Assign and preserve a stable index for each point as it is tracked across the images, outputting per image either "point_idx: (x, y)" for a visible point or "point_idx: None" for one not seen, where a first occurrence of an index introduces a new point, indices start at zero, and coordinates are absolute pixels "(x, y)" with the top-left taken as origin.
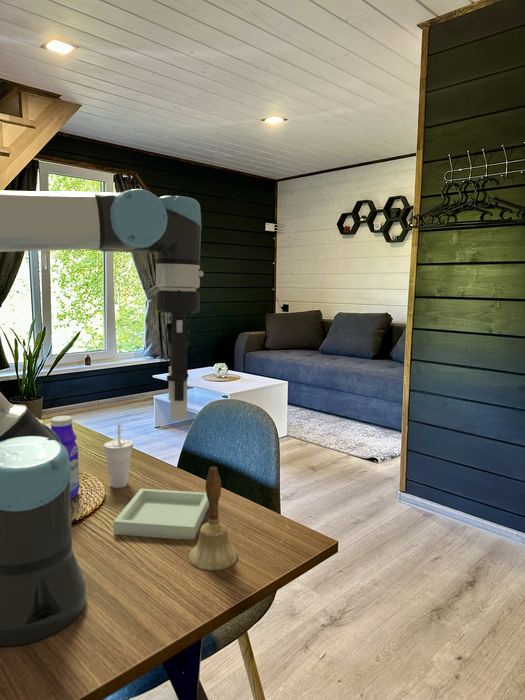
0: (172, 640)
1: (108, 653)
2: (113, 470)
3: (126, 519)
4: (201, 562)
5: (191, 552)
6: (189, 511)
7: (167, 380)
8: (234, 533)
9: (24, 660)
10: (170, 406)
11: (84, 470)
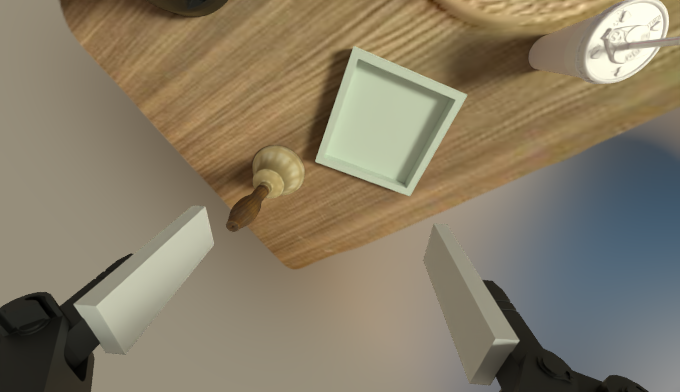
0: (145, 114)
1: (118, 50)
2: (557, 37)
3: (379, 68)
4: (257, 157)
5: (279, 150)
6: (386, 161)
7: (25, 297)
8: (325, 200)
9: None
10: (166, 228)
11: None
